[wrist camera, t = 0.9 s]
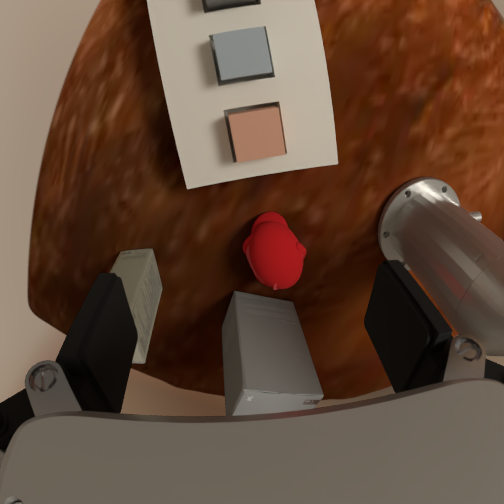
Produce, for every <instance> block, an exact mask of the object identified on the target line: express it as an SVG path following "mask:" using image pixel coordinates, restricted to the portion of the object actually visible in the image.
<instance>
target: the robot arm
mask: <svg viewBox="0 0 504 504" xmlns="http://www.w3.org/2000/svg"><path fill="white" fill-rule="evenodd" d="M481 219H482V218H481V213H480V212H479V211H475V212H471V213H469V212H468V211H466V210H465V209H464V208H462V207H461V206H460V202H459V200H458V197H457V195H456V193H455V192H454V190H453V189H452V188H451V187H450V186H449V185H448V184H446V183H445V182H443V181H441V180H439V179H437V178H432V177H421V178H417V179H414V180H411V181H409V182H408V183H406V184H404V185H403V186H402V187H400V188H399V189H398V190H397V191H396V192H395V193H394V194H393V195H392V196H391V198H390V199H389V200H388V202H387V204H386V205H385V207H384V209H383V211H382V214H381V216H380V220H379V224H378V243H379V246H380V249H381V251H382V253H383V254H384V256H385V257H386V258H387V260H385V261H383V262H382V265H379V266H378V269H377V273H376V277H375V281H374V285H373V289H372V293H371V297H370V301H369V304H368V308H367V312H366V315H365V319H364V325H365V328H366V330H367V332H368V334H369V337H370V339H371V341H372V343H373V345H374V347H375V349H376V351H377V354H378V356H379V358H380V360H381V362H382V364H383V367H384V369H385V371H386V373H387V375H388V378H389V380H390V382H391V384H392V387H393V389H394V391H395V394H391V395H386V396H382V397H377V398H372V399H367V400H362V401H357V402H352V403H346V404H340V405H334V406H328V407H321V408H314V409H306V410H298V411H289V412H279V413H268V414H254V415H236V416H205V417H204V416H197V417H195V416H193V417H192V416H191V417H190V416H188V417H187V416H156V415H135V414H120V412H121V409H122V404H123V399H124V394H125V390H126V386H127V381H128V377H129V373H130V369H131V365H132V361H133V357H134V353H135V349H136V345H137V341H138V332H137V329H136V326H135V323H134V319H133V316H132V313H131V310H130V307H129V303H128V300H127V297H126V293H125V290H124V286H123V282H122V279H121V277H117V275H116V274H115V273H100V274H99V275H98V277H97V278H96V280H95V282H94V284H93V286H92V288H91V290H90V291H89V293H88V295H87V297H86V299H85V301H84V303H83V305H82V307H81V309H80V311H79V312H78V314H77V316H76V318H75V320H74V322H73V324H72V326H71V328H70V330H69V332H68V334H67V336H66V338H65V341H64V343H63V345H62V347H61V350H60V352H59V354H58V356H57V358H56V361H50V360H47V361H42V362H39V363H37V364H36V365H34V366H33V367H32V368H31V369H30V370H29V371H28V373H27V375H26V378H25V387H26V388H25V389H23V390H22V391H20V392H18V393H17V394H15V395H13V396H12V397H10V398H8V399H6V400H5V401H3V402H1V403H0V504H504V366H502V365H500V364H497V363H495V362H492V361H490V360H488V359H486V358H485V357H486V355H487V356H504V241H503V240H501V239H500V238H499V237H498V236H496V235H495V234H494V233H493V232H491V231H490V230H489V229H488V228H486V227H485V226H484V225H483V224H481V223H480V222H479V221H481ZM407 270H412V272H413V273H414V274H415V275H416V277H417V278H418V279H419V280H420V282H421V283H422V284H423V286H424V287H425V288H426V290H427V291H428V292H429V294H430V295H431V296H432V298H433V299H434V300H435V302H436V303H437V304H438V306H439V307H440V308H441V310H442V311H443V313H444V314H445V315H446V317H447V318H448V320H449V321H450V322H451V324H452V325H453V327H454V328H455V330H456V331H457V332H458V334H459V335H457V336H455V337H454V338H453V337H452V335H451V333H452V329H451V328H450V327H449V325H448V324H447V322H446V321H445V319H444V318H443V317H442V315H441V314H440V313H439V311H438V310H437V308H436V307H435V306H434V304H433V303H432V302H431V300H430V299H429V298H428V296H427V295H426V294H425V292H424V291H423V290H422V289H421V287H420V286H419V285H418V283H417V282H416V281H415V280H414V278H413V277H412V276H411V274H410V273H409V272H408V271H407Z"/></svg>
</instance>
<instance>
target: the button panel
mask: <svg viewBox="0 0 504 504" xmlns="http://www.w3.org/2000/svg"><path fill="white" fill-rule="evenodd" d="M147 5H148V11H149V16H150V22H151V27H152V33H153V38H154V44H155V49H156V54H157V59H158V64H159V69H160V74H161V79H162V83H163V88H164V93H165V97H166V102H167V107H168V111H169V116H170V120H171V124H172V129H173V133H174V137H175V142H176V146H177V150H178V154H179V158H180V162H181V166H182V171H183V175H184V179H185V183H186V186H187V189H191V188H196V187H201V186H206V185H211V184H216V183H221V182H226V181H232V180H237V179H242V178H248V177H254V176H260V175H266V174H272V173H278V172H284V171H291V170H298V169H304V168H311V167H319V166H326V165H334V164H338V157H337V146H336V136H335V126H334V117H333V109H332V101H331V93H330V86H329V79H328V72H327V66H326V60H325V53H324V48H323V42H322V36H321V31H320V26H319V21H318V16H317V11H316V6H315V2H314V0H256V2H255V4H250V5H243V6H236V7H230V8H224V9H218V10H213V11H209V9H208V6H207V3H206V0H147ZM262 26H264V29H265V34H266V39H267V45H268V50H269V55H270V61H271V66H272V72H271V73H269V74H264V75H257V76H250V77H244V78H238V79H233V80H227V81H222V80H221V76H220V71H219V65H218V60H217V55H216V50H215V45H214V40H213V35H212V34H217V33H222V32H228V31H234V30H240V29H247V28H254V27H262ZM269 106H276V107H278V108H279V114H280V120H281V127H282V133H283V140H284V147H285V154H286V155H281V156H274V157H268V158H262V159H256V160H250V161H244V162H239V163H237V159H236V153H235V148H234V143H233V138H232V133H231V127H230V122H229V117H228V115H229V113H232V112H238V111H243V110H249V109H255V108H262V107H269Z"/></svg>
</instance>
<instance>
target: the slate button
mask: <svg viewBox="0 0 504 504" xmlns="http://www.w3.org/2000/svg"><path fill="white" fill-rule="evenodd" d="M212 35H213V40H214V45H215V50H216V55H217V60H218V65H219V71H220V76H221V80H222V81H227V80H233V79H238V78H244V77H250V76H257V75H264V74H269V73H271V72H272V66H271V61H270V55H269V50H268V45H267V39H266V34H265V29H264V26H262V27H254V28H247V29H240V30H234V31H228V32H222V33H217V34H212Z"/></svg>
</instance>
